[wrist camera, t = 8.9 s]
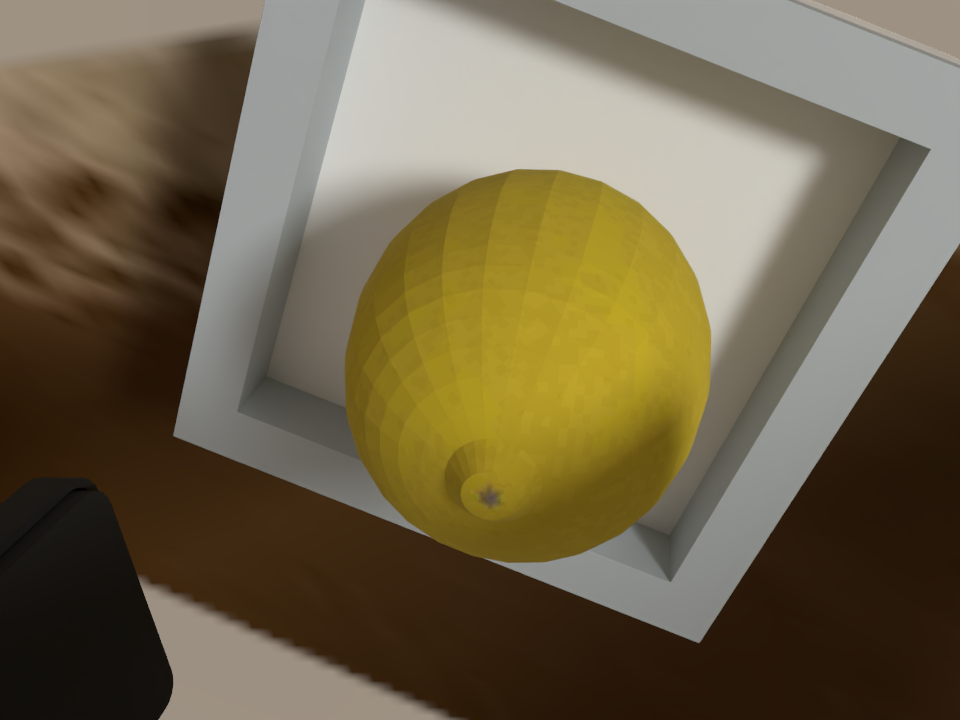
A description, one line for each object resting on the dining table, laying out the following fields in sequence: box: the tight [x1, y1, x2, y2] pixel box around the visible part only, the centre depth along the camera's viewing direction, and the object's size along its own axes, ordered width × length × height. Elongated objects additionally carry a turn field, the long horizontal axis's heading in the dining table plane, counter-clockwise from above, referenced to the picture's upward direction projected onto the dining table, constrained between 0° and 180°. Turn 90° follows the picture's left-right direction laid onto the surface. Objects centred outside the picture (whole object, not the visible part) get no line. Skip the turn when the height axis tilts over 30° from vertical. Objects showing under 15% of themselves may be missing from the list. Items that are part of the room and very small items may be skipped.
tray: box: [173, 0, 960, 643], centre depth 19 cm, size 12×12×6 cm
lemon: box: [345, 169, 711, 563], centre depth 14 cm, size 6×6×8 cm
